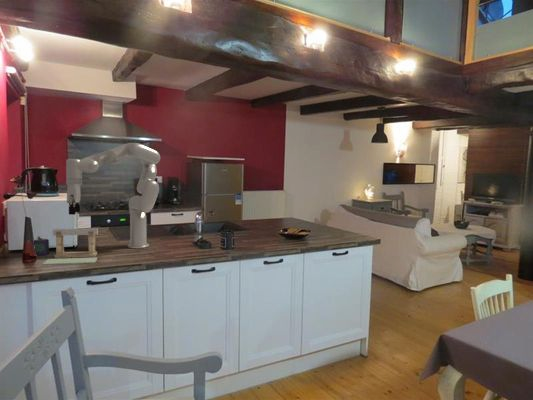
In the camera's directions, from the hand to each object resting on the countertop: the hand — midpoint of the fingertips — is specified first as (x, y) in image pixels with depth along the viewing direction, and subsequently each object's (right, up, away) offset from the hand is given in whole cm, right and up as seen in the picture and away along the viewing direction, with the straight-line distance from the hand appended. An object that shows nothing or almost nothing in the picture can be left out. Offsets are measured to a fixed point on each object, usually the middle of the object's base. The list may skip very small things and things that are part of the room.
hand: (74, 213), depth 200 cm
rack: (0, -24, +3) cm, 24 cm away
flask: (-20, -24, +1) cm, 31 cm away
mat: (+2, -25, -8) cm, 26 cm away
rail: (0, -12, +2) cm, 12 cm away
